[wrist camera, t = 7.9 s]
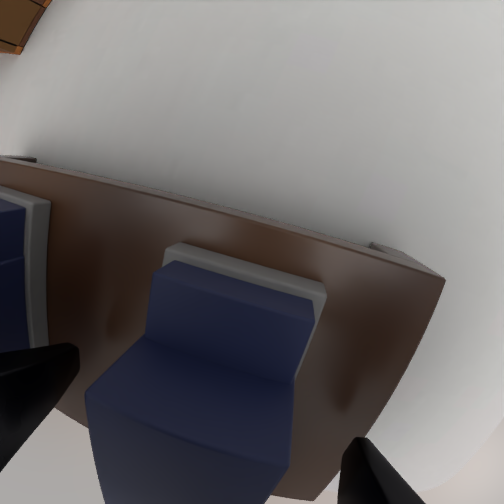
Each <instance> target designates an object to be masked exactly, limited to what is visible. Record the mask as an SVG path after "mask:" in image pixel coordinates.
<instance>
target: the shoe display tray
mask: <svg viewBox="0 0 504 504" xmlns="http://www.w3.org/2000/svg"><path fill="white" fill-rule="evenodd" d="M0 186H4V187H7V188H10V189H13V190H16V191H20V192H23V193H26V194H29V195H33V196H36V197H39V198H42V199H46V200H49V201H50V202H51V210H50V219H49V230H48V244H47V268H46V300H47V323H48V337H49V345H54V344H60V343H66V342H69V343H72V344H73V345H75V346H77V347H78V348H79V351H80V371H79V373H78V374H77V376H76V377H75V379H74V380H73V382H72V383H71V384H70V386H69V387H68V389H67V390H66V392H65V393H64V395H63V396H62V398H61V399H60V401H59V402H58V403H57V405H56V406H55V407H54V408H56V409H58V410H59V411H61V412H62V413H64V414H66V415H67V416H68V417H70V418H72V419H74V420H75V421H77V422H78V423H80V424H82V425H83V426H85V427H87V428H88V421H87V414H86V406H85V397H84V394H85V391H86V390H87V389H88V388H89V387H90V386H91V385H92V384H93V383H94V382H95V381H96V380H97V379H98V378H99V377H100V376H101V375H102V374H103V373H104V372H105V371H106V370H107V369H108V368H109V367H110V366H111V365H112V364H113V363H114V362H115V361H116V360H117V359H118V358H120V357H121V356H122V355H123V354H124V353H125V352H126V351H127V350H128V349H129V348H130V347H131V346H132V345H133V344H134V343H135V342H136V341H137V340H138V339H139V338H140V337H141V336H142V335H143V334H144V333H145V327H146V319H147V311H148V303H149V295H150V288H151V282H152V275H153V272H154V271H156V270H158V269H160V268H161V267H162V265H163V259H164V253H165V250H166V248H168V247H170V246H172V245H174V244H177V243H179V242H182V243H185V244H189V245H192V246H196V247H199V248H203V249H206V250H209V251H213V252H216V253H220V254H223V255H227V256H230V257H234V258H237V259H240V260H244V261H247V262H251V263H254V264H258V265H261V266H265V267H268V268H272V269H275V270H279V271H282V272H286V273H289V274H293V275H297V276H300V277H304V278H307V279H311V280H314V281H318V282H321V283H323V284H324V287H325V290H326V294H327V299H326V302H325V304H324V307H323V310H322V313H321V316H320V318H319V321H318V324H317V326H316V329H315V332H314V334H313V337H312V340H311V342H310V345H309V347H308V350H307V352H306V355H305V357H304V360H303V362H302V365H301V367H300V370H299V372H298V374H297V377H296V379H295V385H294V409H293V428H292V444H291V459H290V467H289V468H288V470H287V471H286V473H285V474H284V476H283V477H282V479H281V480H280V482H279V483H278V485H277V486H276V488H275V489H274V491H273V492H272V493H271V495H274V496H280V497H285V498H292V499H299V500H306V501H307V500H308V501H314V500H315V499H316V498H317V497H318V496H319V495H320V493H321V492H322V491H323V490H324V489H325V488H326V487H327V485H328V484H329V483H330V482H331V481H332V479H333V478H334V477H335V476H336V475H337V473H338V472H339V471H340V470H341V460H342V456H343V453H344V452H345V450H346V449H347V447H348V446H349V444H350V443H351V442H352V440H353V439H354V438H355V437H365V436H366V435H367V433H368V432H369V430H370V429H371V427H372V426H373V424H374V423H375V421H376V420H377V418H378V417H379V415H380V413H381V412H382V410H383V409H384V407H385V405H386V404H387V402H388V400H389V399H390V397H391V395H392V394H393V392H394V390H395V389H396V387H397V385H398V383H399V382H400V380H401V378H402V376H403V374H404V373H405V371H406V369H407V367H408V365H409V363H410V361H411V359H412V357H413V355H414V353H415V351H416V349H417V347H418V345H419V343H420V341H421V339H422V337H423V335H424V333H425V330H426V328H427V326H428V324H429V322H430V319H431V317H432V315H433V312H434V310H435V307H436V305H437V303H438V300H439V298H440V295H441V292H442V290H443V287H444V285H445V282H446V280H445V278H444V277H442V276H440V275H439V274H437V273H436V272H434V271H433V270H431V269H429V268H428V267H426V266H425V265H423V264H421V263H420V262H418V261H417V260H415V259H413V258H412V257H410V256H408V255H407V254H405V253H403V252H401V251H398V250H395V249H392V248H389V247H386V246H383V245H380V244H377V243H374V242H372V243H371V244H370V248H367V247H364V246H361V245H357V244H354V243H351V242H348V241H344V240H341V239H338V238H334V237H331V236H328V235H324V234H321V233H318V232H314V231H311V230H307V229H304V228H300V227H297V226H293V225H290V224H286V223H283V222H279V221H276V220H272V219H269V218H265V217H261V216H258V215H254V214H250V213H247V212H243V211H239V210H236V209H232V208H228V207H224V206H220V205H217V204H213V203H209V202H205V201H201V200H197V199H193V198H189V197H185V196H181V195H177V194H173V193H169V192H165V191H161V190H157V189H153V188H148V187H144V186H140V185H136V184H131V183H127V182H123V181H118V180H114V179H109V178H105V177H100V176H96V175H91V174H86V173H82V172H77V171H72V170H67V169H63V168H58V167H53V166H48V165H43V164H37V163H36V158H32V157H26V156H11V155H0Z"/></svg>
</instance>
